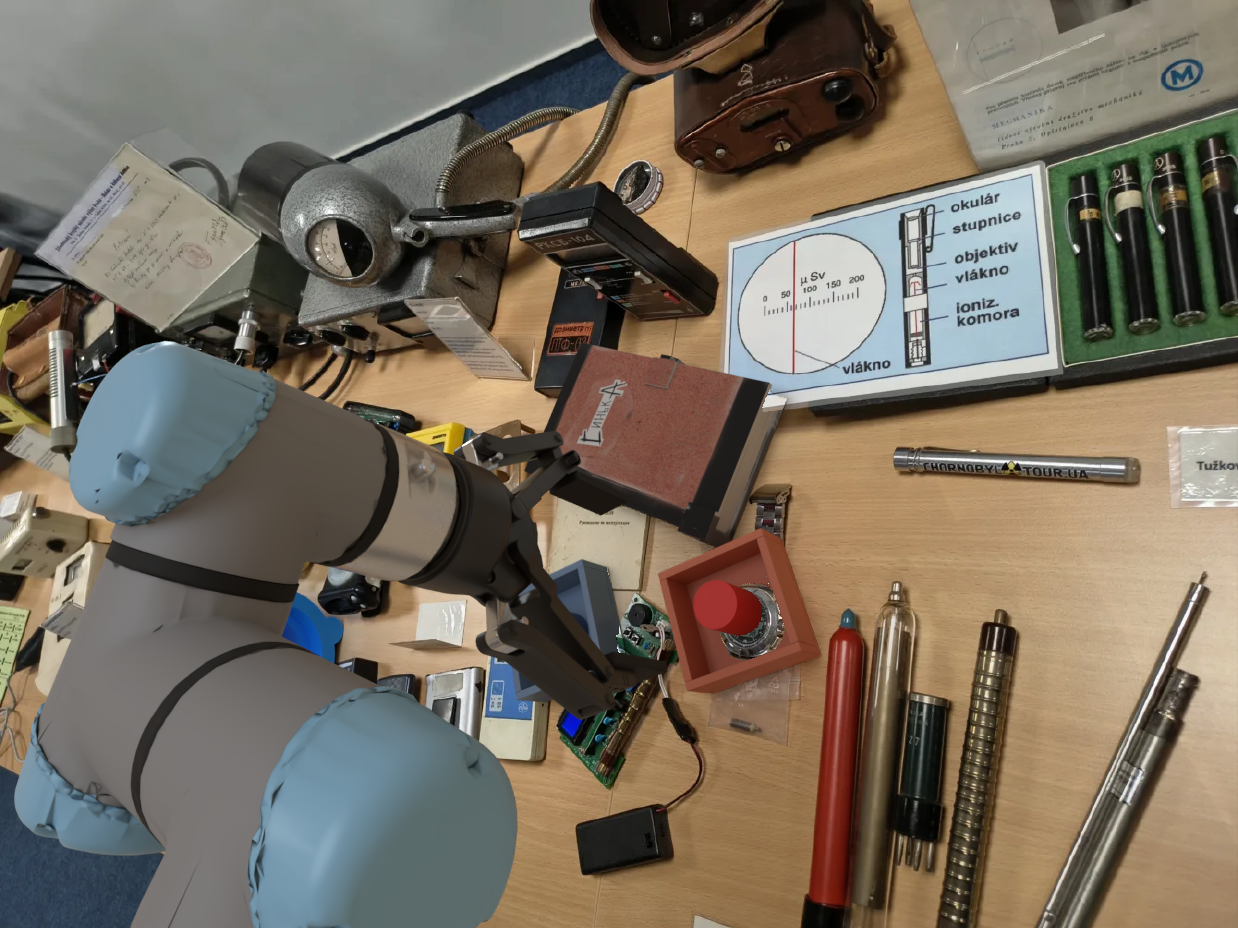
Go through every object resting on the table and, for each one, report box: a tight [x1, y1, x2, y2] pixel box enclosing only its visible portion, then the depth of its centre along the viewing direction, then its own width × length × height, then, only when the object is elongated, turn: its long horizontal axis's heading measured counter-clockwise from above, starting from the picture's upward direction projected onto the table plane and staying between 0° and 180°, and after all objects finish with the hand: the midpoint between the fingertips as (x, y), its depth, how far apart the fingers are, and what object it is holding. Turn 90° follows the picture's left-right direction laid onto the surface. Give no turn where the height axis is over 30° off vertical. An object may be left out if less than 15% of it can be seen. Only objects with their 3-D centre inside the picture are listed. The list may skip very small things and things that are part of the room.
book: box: [523, 342, 784, 548], centre depth 83 cm, size 26×18×5 cm
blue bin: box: [511, 558, 621, 703], centre depth 82 cm, size 12×12×5 cm
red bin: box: [657, 527, 822, 695], centre depth 71 cm, size 12×12×5 cm
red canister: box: [693, 580, 762, 636], centre depth 70 cm, size 4×4×6 cm
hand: (631, 583), depth 57 cm, fingers open, 13 cm apart
